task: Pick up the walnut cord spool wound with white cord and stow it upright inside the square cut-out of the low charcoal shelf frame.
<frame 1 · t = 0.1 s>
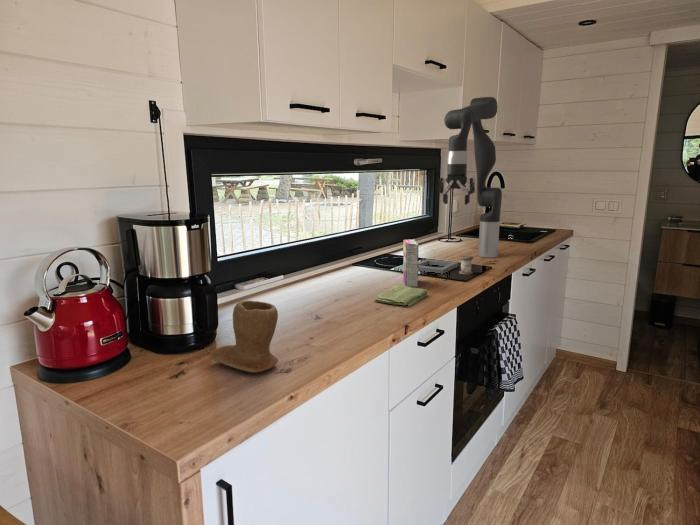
hand: (455, 204, 193), 29 cm above the worktop, tool pointing down, fingers open, 8 cm apart
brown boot: (249, 364, 113), on the worktop
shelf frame: (434, 268, 209), on the worktop
cord spool: (465, 273, 200), on the worktop
candy bar box: (410, 284, 184), on the worktop
washcloth: (402, 300, 164), on the worktop
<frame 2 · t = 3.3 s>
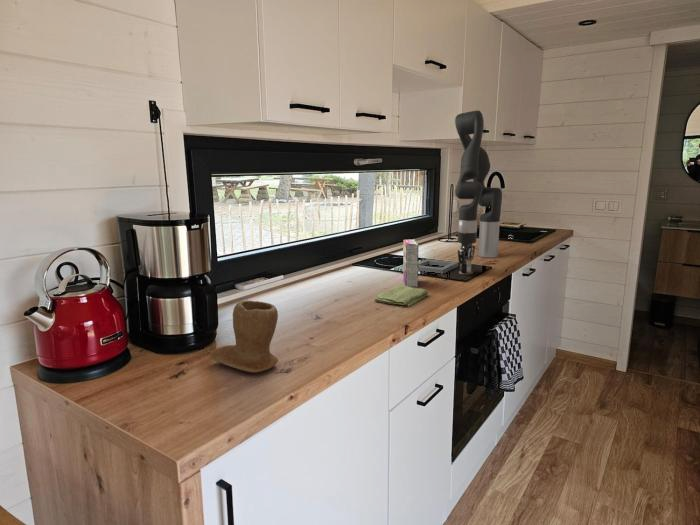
hand: (465, 271, 199), 1 cm above the worktop, tool pointing down, fingers closed on cord spool, 4 cm apart
cord spool: (465, 273, 200), on the worktop, touching gripper
everything else where it was.
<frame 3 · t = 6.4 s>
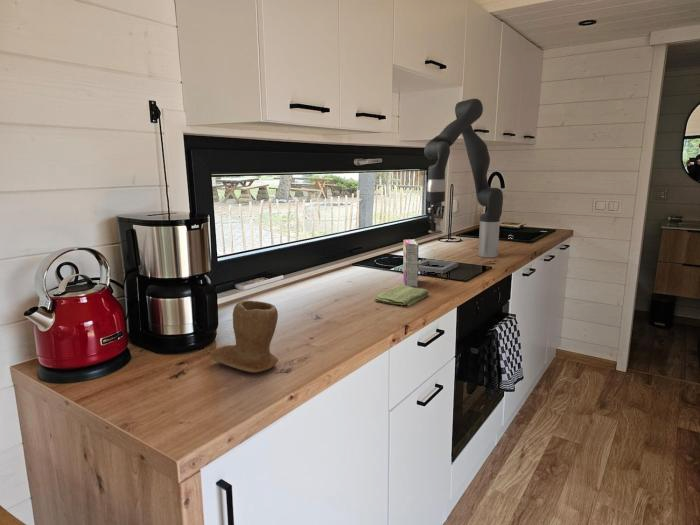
hand: (435, 230, 206), 17 cm above the worktop, tool pointing down, fingers closed on cord spool, 4 cm apart
cord spool: (435, 232, 206), point 16 cm above the worktop, touching gripper
everything else where it was.
when the fingers open (2 cm above the worktop, at t = 9.8 s): cord spool drops 1 cm, resting in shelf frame.
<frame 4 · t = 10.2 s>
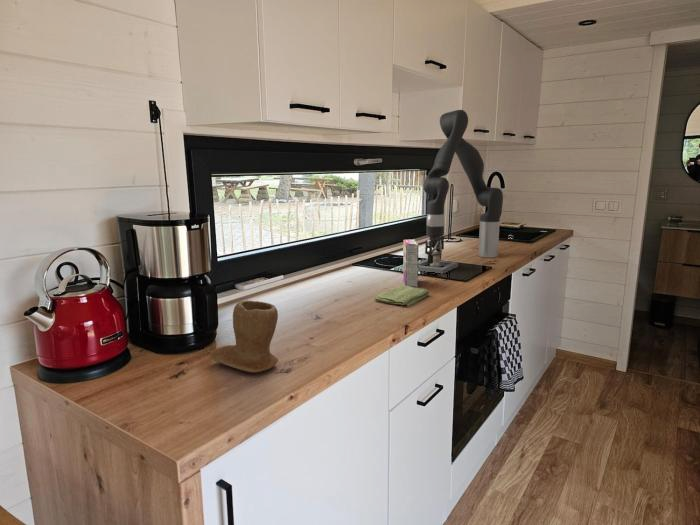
hand: (434, 261, 209), 3 cm above the worktop, tool pointing down, fingers open, 8 cm apart
cord spool: (434, 268, 210), resting in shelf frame
everything else where it was.
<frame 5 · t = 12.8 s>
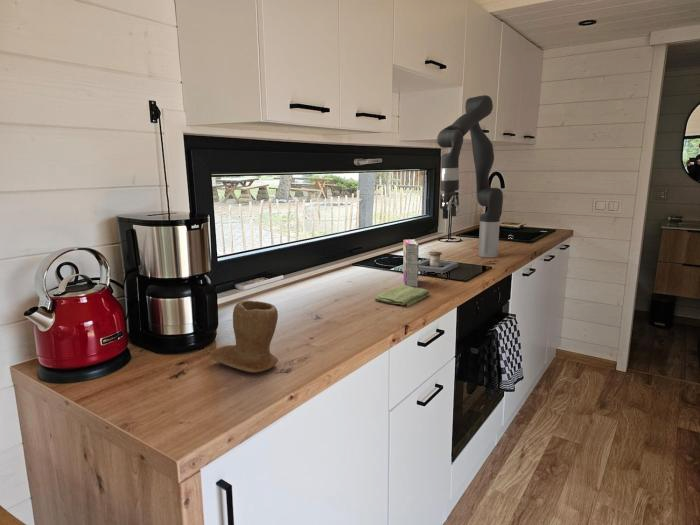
hand: (449, 217, 205), 22 cm above the worktop, tool pointing down, fingers open, 8 cm apart
nothing on the worktop moved.
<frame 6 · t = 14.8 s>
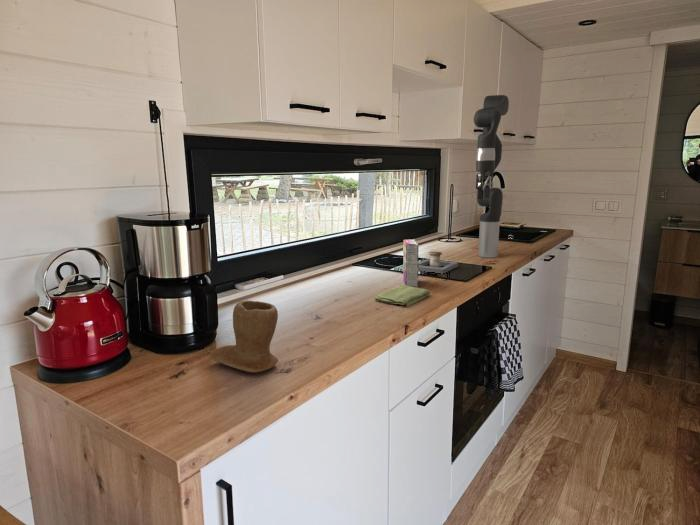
hand: (483, 198, 203), 30 cm above the worktop, tool pointing down, fingers open, 8 cm apart
nothing on the worktop moved.
at the end: cord spool 0.6 cm off-centre on the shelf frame, point 0.0 cm above the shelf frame's base; cord spool tilted 0°; the gripper is holding nothing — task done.
